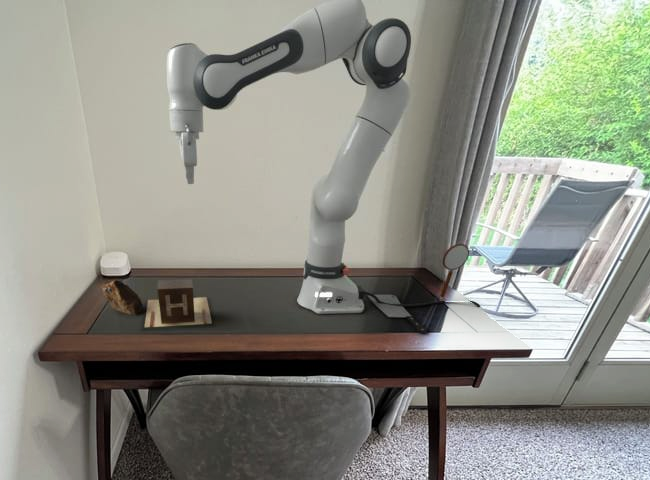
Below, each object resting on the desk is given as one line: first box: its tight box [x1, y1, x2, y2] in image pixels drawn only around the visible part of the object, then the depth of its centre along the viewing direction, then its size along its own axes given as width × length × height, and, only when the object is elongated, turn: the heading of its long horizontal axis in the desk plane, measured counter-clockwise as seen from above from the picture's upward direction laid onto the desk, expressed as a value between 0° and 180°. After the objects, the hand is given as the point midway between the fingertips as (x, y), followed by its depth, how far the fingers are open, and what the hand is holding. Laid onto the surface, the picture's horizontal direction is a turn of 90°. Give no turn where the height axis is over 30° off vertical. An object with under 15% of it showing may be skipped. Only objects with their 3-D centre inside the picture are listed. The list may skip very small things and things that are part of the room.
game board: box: [144, 296, 213, 328], centre depth 114 cm, size 20×20×1 cm
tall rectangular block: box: [156, 278, 195, 324], centre depth 106 cm, size 10×7×11 cm
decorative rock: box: [101, 279, 143, 316], centre depth 111 cm, size 12×6×11 cm, turn 66°
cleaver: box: [366, 293, 428, 335], centre depth 116 cm, size 29×1×10 cm
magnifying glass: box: [439, 243, 470, 301], centre depth 120 cm, size 9×2×20 cm, turn 97°
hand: (190, 181), depth 102 cm, fingers open, 8 cm apart
